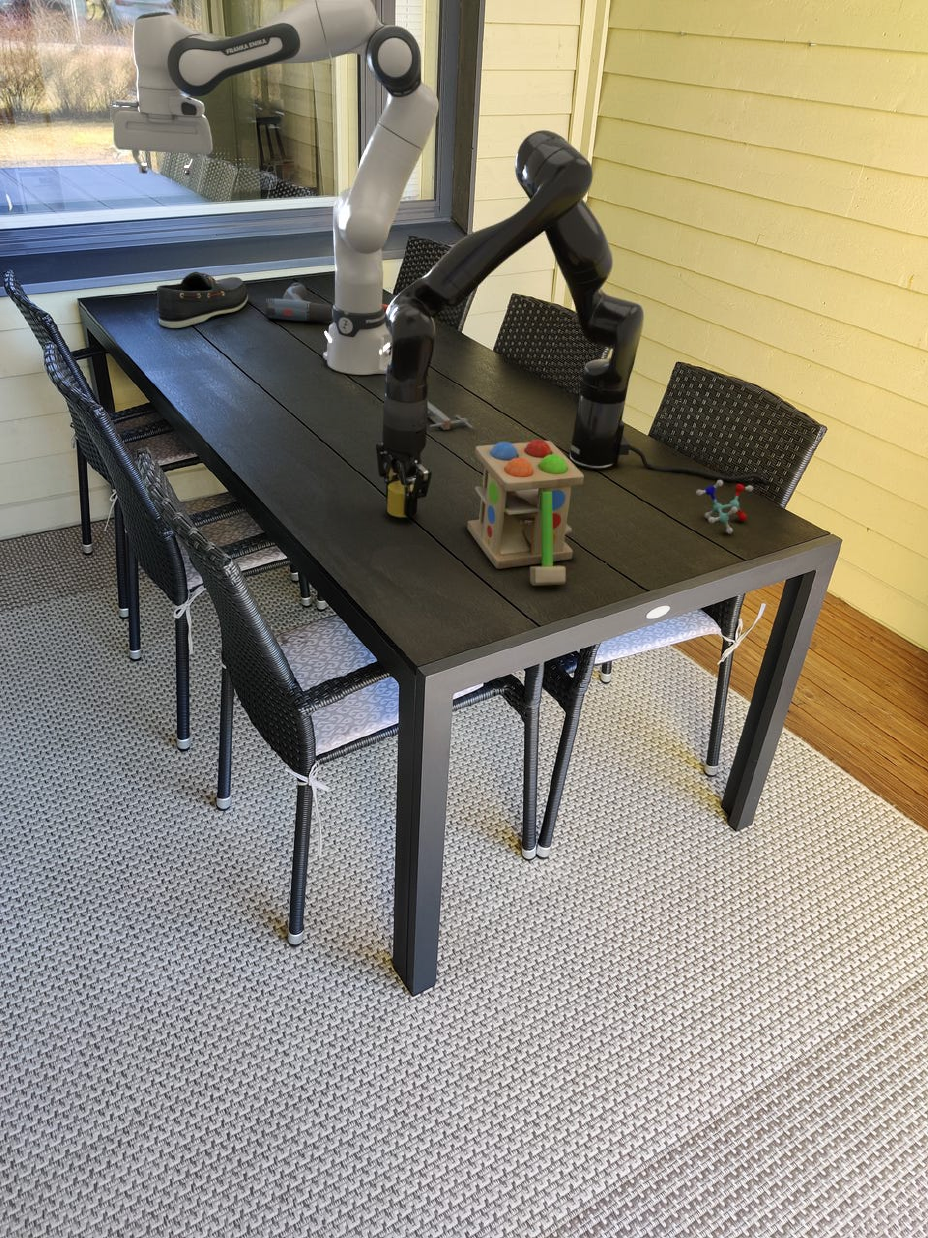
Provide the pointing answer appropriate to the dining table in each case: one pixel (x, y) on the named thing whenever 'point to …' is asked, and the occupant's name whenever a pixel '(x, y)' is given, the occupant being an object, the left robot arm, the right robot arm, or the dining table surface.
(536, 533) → the pounding bench toy
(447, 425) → the clamp
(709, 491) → the molecular model
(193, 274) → the boat shoe
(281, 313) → the power drill
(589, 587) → the dining table surface
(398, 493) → the yellow cylinder
